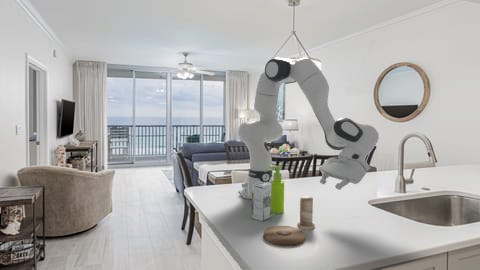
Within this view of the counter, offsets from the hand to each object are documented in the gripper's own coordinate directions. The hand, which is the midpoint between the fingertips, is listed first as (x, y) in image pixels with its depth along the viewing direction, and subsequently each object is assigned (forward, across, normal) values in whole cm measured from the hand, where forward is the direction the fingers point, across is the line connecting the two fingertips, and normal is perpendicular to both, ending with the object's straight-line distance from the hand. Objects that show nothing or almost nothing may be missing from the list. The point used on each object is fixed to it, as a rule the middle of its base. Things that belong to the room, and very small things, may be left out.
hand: (329, 185), depth 117 cm
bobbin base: (+27, +6, -6) cm, 28 cm away
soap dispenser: (+19, -20, +2) cm, 28 cm away
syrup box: (+26, -14, -5) cm, 30 cm away
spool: (+18, 0, +3) cm, 18 cm away
